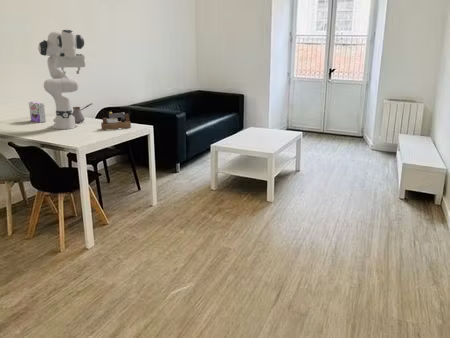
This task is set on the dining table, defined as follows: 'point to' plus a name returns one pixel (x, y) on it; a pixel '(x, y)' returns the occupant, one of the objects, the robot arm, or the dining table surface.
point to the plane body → (116, 124)
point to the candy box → (37, 112)
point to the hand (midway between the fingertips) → (71, 73)
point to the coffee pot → (78, 114)
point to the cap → (112, 120)
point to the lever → (118, 116)
